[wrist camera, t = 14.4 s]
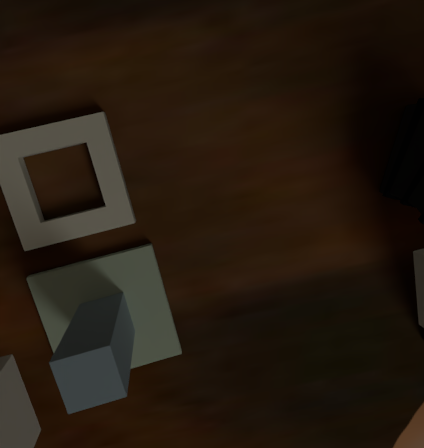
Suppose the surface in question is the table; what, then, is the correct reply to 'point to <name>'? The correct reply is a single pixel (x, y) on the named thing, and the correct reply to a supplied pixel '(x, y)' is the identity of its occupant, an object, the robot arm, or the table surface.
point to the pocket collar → (25, 195)
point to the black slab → (407, 161)
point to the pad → (106, 286)
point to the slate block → (95, 354)
